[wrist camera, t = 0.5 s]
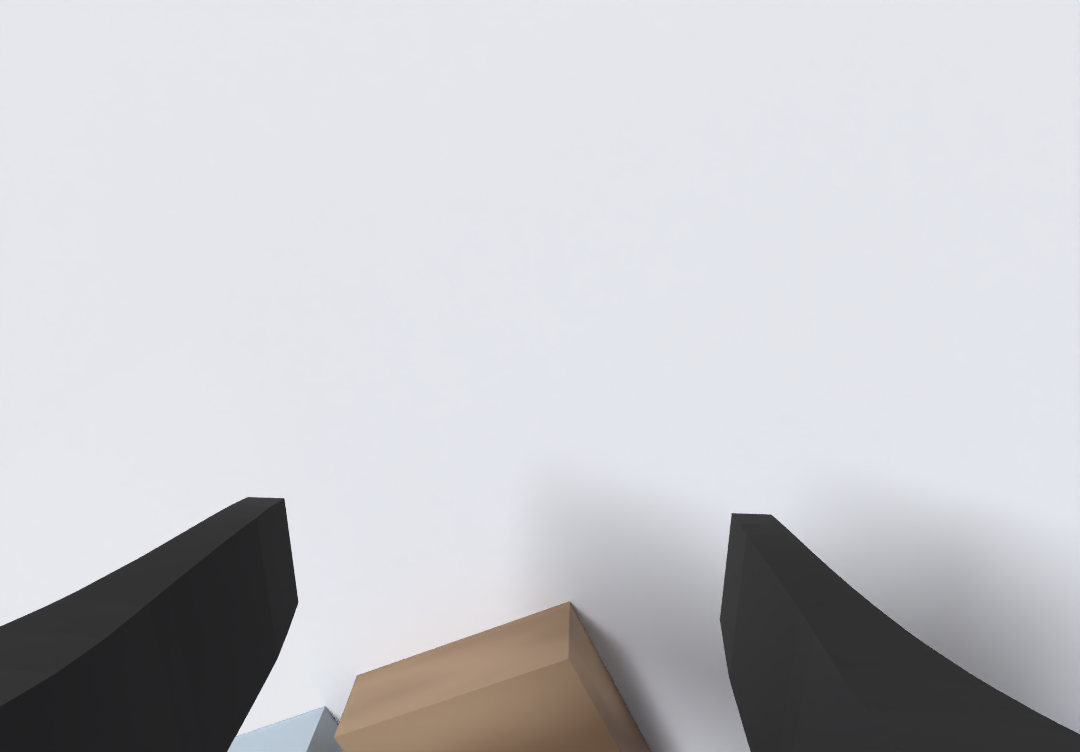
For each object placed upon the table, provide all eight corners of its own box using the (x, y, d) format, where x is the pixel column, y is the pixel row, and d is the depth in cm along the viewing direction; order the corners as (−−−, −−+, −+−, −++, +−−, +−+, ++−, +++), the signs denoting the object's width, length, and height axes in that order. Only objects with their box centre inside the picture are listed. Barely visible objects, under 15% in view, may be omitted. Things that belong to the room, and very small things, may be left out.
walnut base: (661, 763, 27) (670, 841, 24) (464, 822, 29) (452, 901, 26) (569, 593, 25) (568, 658, 22) (359, 667, 26) (333, 737, 24)
